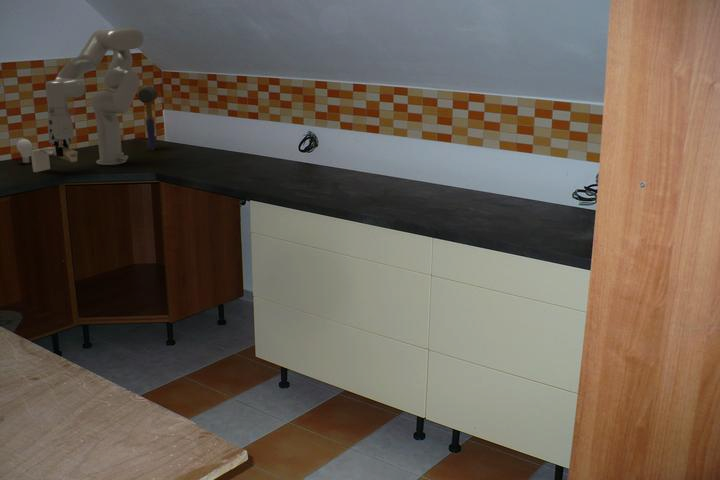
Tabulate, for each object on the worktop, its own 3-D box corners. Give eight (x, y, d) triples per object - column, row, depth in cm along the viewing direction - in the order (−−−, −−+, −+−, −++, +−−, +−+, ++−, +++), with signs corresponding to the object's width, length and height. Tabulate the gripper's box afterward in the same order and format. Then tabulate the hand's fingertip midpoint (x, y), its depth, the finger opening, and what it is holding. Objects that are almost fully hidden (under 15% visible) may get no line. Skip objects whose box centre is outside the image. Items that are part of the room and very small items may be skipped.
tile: (50, 168, 348) (47, 147, 346) (36, 172, 341) (33, 150, 339) (47, 168, 349) (44, 147, 347) (32, 171, 342) (30, 150, 340)
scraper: (79, 160, 339) (80, 151, 338) (69, 162, 334) (70, 153, 332) (50, 148, 344) (50, 139, 343) (39, 150, 339) (40, 141, 337)
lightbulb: (27, 161, 364) (24, 137, 361) (37, 162, 361) (34, 138, 358) (15, 163, 359) (12, 139, 356) (24, 165, 356) (21, 140, 353)
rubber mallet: (147, 147, 399) (142, 85, 391) (162, 147, 399) (158, 85, 391) (141, 151, 387) (136, 88, 379) (157, 151, 387) (152, 87, 379)
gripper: (50, 114, 324) (55, 159, 330) (79, 109, 339) (83, 153, 344) (36, 113, 327) (41, 158, 333) (65, 108, 342) (70, 152, 347)
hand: (62, 155), depth 338 cm, fingers closed on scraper, 2 cm apart
